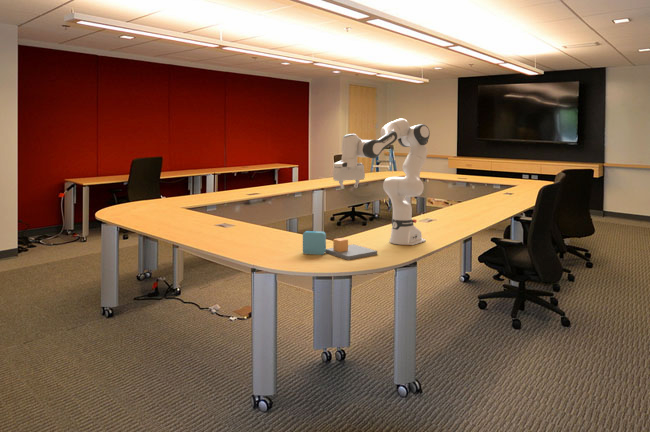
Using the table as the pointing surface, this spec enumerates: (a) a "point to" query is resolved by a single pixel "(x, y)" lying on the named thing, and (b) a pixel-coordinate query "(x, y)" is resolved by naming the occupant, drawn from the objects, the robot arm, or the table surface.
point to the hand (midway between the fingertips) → (349, 188)
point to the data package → (314, 242)
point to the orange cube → (340, 244)
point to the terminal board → (352, 252)
